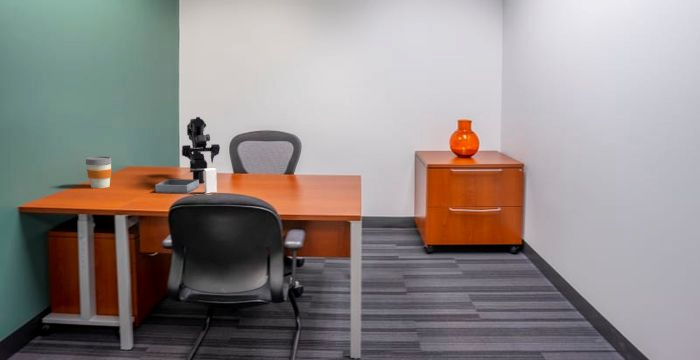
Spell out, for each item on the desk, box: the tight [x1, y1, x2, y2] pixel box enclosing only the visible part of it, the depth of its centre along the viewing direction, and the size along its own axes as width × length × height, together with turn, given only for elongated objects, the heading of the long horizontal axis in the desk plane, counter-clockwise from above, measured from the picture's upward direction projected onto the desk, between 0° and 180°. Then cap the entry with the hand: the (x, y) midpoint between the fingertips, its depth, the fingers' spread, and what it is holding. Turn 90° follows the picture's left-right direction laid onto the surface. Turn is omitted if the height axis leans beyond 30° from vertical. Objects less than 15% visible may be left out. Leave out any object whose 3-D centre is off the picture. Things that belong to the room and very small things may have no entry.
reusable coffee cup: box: [85, 156, 113, 189], centre depth 317 cm, size 13×13×15 cm
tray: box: [154, 178, 200, 195], centre depth 311 cm, size 18×16×4 cm
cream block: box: [203, 167, 218, 194], centre depth 303 cm, size 5×5×12 cm
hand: (203, 162), depth 310 cm, fingers open, 9 cm apart
